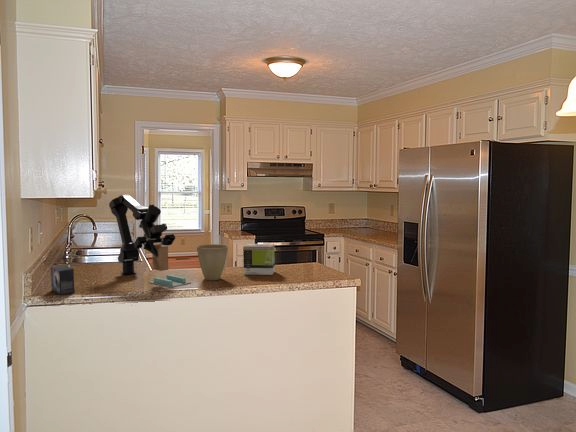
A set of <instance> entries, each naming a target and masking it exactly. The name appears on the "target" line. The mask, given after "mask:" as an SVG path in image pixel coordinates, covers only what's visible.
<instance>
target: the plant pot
mask: <svg viewBox="0 0 576 432" xmlns="http://www.w3.org/2000/svg"><path fill="white" fill-rule="evenodd" d="M228 248H229V246H228V245H227V244H219V243H217V244H215V243H214V244H202V245H201V244H200V245H196V251H197V257H198V262H199V266H200V269H201V272H202V275H203V278H204V280H207V281H217V280H220V279H221V277H222V274H223V271H224V269H225V265H226V261H227V257H228Z"/></svg>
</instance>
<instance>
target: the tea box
mask: <svg viewBox="0 0 576 432" xmlns="http://www.w3.org/2000/svg"><path fill="white" fill-rule="evenodd" d="M242 247H243V248H242V251H243V256H242V257H243V258H242V261H243V265H242V266H243V275H253V276H254V275H256V276H257V275H261V276H267V275H268V276H272V275H274V273H275V272H274V271H275V269H276V268H275V267H276V263H275V262H276V261H275V260H276V259H275V257H276V256H275V252H276V251H275V249H276V248H275V247H276V246H275V244H273V243H246V244H245V245H243V246H242Z"/></svg>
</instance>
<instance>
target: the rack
mask: <svg viewBox="0 0 576 432" xmlns="http://www.w3.org/2000/svg"><path fill="white" fill-rule="evenodd" d="M147 283H148V284H153V285H156V286H157V285H158V286H161V287H165V288H169V289H173V288H177V287H181V286H186V285H188V284H192V282H191V281H187V279H186V278H185V277H182V276H177V275H172V274H166V277H165V278H161V277H153V280H150V281H147Z"/></svg>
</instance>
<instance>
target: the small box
mask: <svg viewBox="0 0 576 432" xmlns="http://www.w3.org/2000/svg"><path fill="white" fill-rule="evenodd" d="M74 270H75V268H73V267H70V266H67V265H66V264H65V265H58V266H57V265H56V266H50V279H51V280H50V281H51V282H50V283H51V291H52V292H54V293H56V294H58V295H59V296H63V295H68V294H75V292H76V291H75V271H74Z"/></svg>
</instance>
